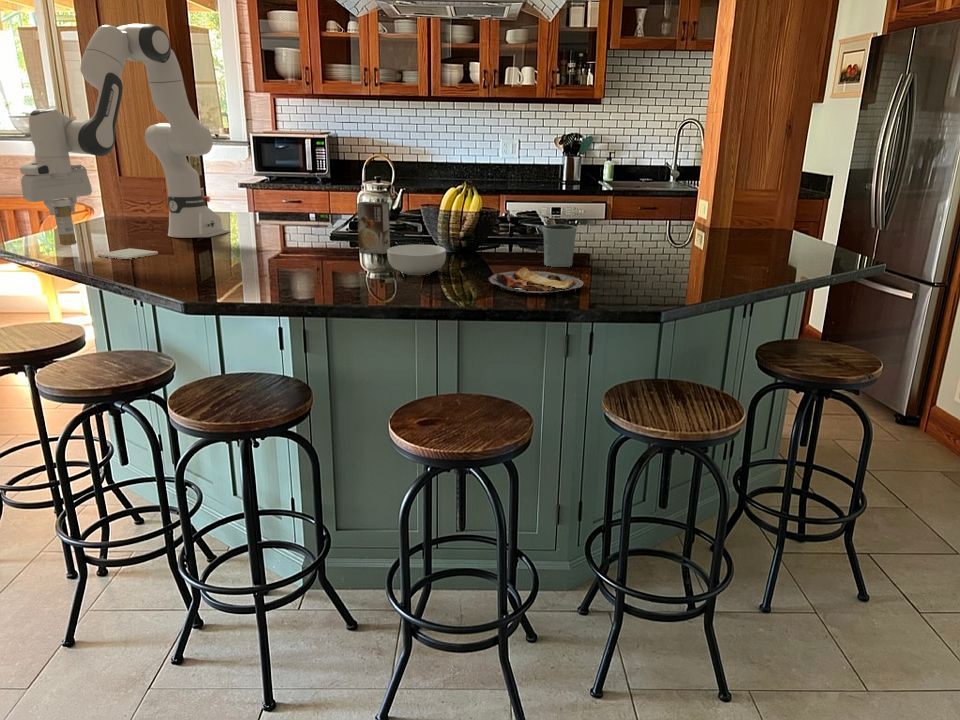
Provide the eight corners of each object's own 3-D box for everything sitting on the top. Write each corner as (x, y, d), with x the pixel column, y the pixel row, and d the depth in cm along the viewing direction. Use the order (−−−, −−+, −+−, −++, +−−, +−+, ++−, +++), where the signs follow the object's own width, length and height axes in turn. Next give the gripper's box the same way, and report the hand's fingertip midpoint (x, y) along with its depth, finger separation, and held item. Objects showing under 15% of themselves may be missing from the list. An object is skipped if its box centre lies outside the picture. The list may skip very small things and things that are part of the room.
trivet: (130, 250, 231) (129, 248, 231) (158, 254, 226) (157, 251, 226) (97, 256, 220) (97, 253, 220) (126, 260, 216) (125, 257, 216)
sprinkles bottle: (75, 242, 223) (67, 198, 218) (78, 244, 219) (70, 199, 215) (58, 244, 220) (50, 199, 215) (61, 246, 216) (53, 200, 212)
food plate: (471, 284, 193) (471, 271, 192) (529, 274, 209) (529, 262, 208) (541, 304, 177) (542, 290, 176) (598, 291, 193) (599, 278, 191)
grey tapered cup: (576, 263, 226) (578, 225, 222) (571, 269, 216) (574, 229, 213) (544, 261, 228) (546, 223, 224) (538, 267, 219) (540, 227, 215)
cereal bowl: (381, 269, 211) (381, 245, 209) (435, 266, 217) (435, 243, 215) (396, 281, 196) (395, 255, 194) (453, 277, 202) (454, 252, 200)
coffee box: (391, 251, 240) (390, 202, 235) (384, 254, 234) (383, 204, 229) (365, 249, 242) (364, 201, 237) (358, 252, 236) (356, 203, 231)
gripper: (77, 163, 222) (85, 208, 227) (14, 168, 204) (24, 217, 209) (92, 164, 220) (100, 210, 224) (29, 169, 202) (38, 219, 207)
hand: (62, 213), depth 217 cm, fingers closed on sprinkles bottle, 4 cm apart
